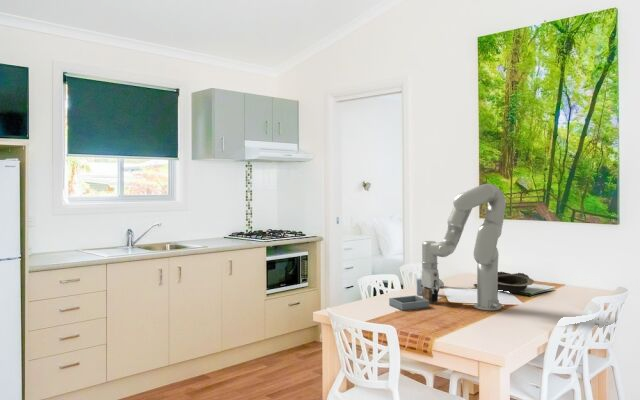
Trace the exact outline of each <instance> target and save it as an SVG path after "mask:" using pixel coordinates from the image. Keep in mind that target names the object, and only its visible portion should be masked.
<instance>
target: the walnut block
mask: <svg viewBox="0 0 640 400" xmlns="http://www.w3.org/2000/svg"><path fill="white" fill-rule="evenodd" d="M434 290H435V289H434ZM432 294H433V293H432V290H431V289H430V288H423V295H422V298H423V299H426V300H429V305H432V304H438V301H436V302H432Z"/></svg>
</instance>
